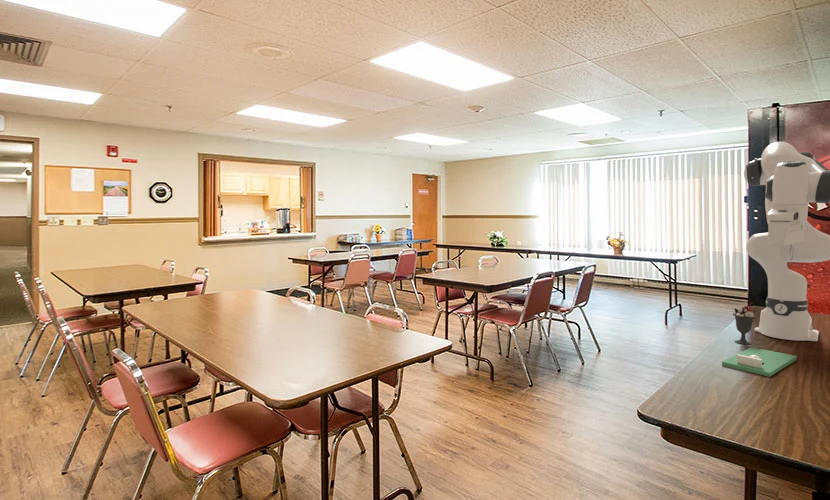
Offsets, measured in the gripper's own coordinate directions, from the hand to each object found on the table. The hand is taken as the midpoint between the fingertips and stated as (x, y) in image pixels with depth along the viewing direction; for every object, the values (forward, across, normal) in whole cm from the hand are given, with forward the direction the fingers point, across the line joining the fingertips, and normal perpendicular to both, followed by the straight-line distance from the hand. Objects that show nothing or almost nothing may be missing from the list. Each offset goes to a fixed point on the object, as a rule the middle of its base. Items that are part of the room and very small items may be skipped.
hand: (786, 258), depth 140 cm
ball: (+30, +15, -2) cm, 34 cm away
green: (+32, +10, -2) cm, 34 cm away
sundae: (+33, -10, -13) cm, 37 cm away
